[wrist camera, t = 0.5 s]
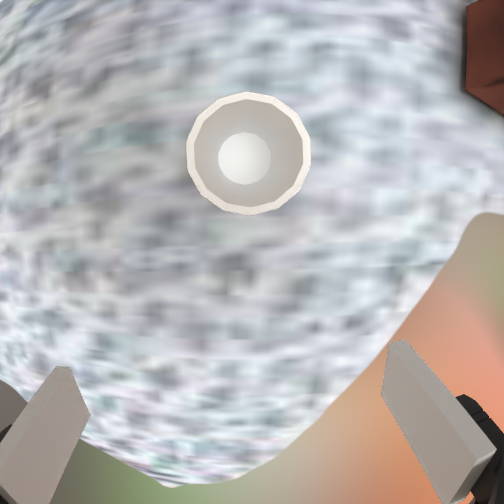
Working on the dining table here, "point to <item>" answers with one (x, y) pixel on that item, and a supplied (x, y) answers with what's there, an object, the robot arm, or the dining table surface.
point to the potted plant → (486, 52)
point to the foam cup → (248, 153)
